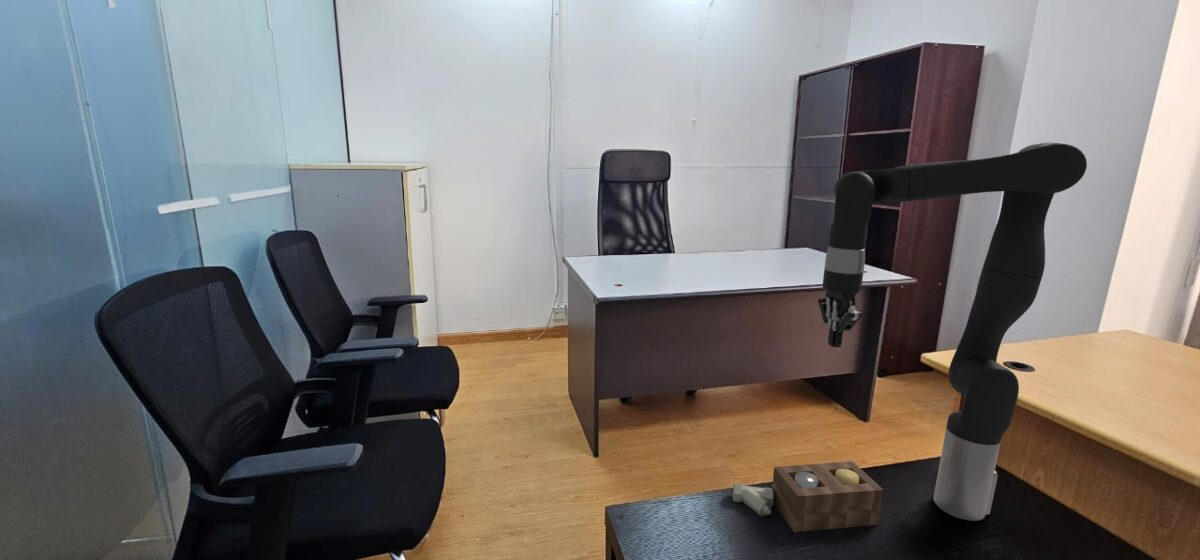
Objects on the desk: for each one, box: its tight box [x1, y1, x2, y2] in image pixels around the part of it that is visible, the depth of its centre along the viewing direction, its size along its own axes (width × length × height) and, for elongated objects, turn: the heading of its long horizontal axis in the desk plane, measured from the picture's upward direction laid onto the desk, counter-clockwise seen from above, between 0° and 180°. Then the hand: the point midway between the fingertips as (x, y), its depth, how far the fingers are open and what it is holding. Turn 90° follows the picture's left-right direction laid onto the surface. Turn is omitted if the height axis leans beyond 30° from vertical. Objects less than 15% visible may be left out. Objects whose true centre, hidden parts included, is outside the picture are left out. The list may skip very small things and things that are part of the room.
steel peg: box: [795, 472, 818, 488], centre depth 107 cm, size 4×4×8 cm
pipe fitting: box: [732, 482, 774, 517], centre depth 109 cm, size 8×4×7 cm
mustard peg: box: [835, 469, 859, 485], centre depth 108 cm, size 4×4×8 cm
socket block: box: [771, 461, 884, 533], centre depth 107 cm, size 18×10×8 cm, turn 98°
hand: (834, 345), depth 113 cm, fingers closed
